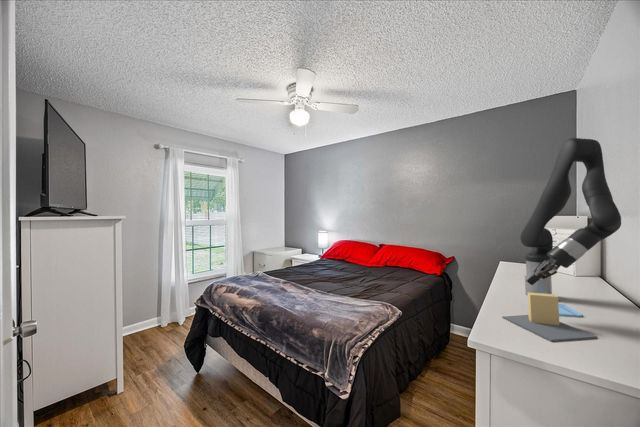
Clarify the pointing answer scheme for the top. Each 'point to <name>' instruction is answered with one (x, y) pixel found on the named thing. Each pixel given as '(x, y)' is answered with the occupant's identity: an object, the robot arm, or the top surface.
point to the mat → (550, 329)
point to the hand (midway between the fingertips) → (528, 283)
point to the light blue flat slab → (568, 311)
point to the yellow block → (543, 308)
